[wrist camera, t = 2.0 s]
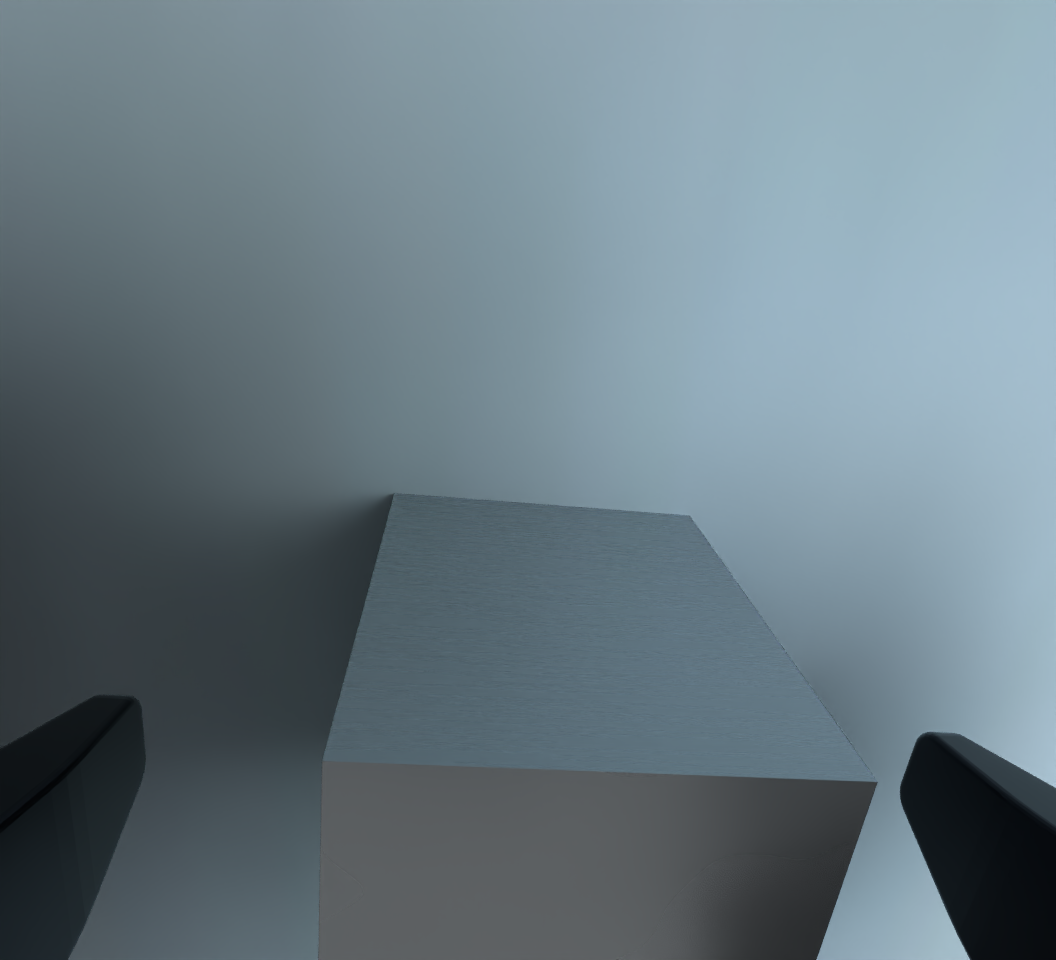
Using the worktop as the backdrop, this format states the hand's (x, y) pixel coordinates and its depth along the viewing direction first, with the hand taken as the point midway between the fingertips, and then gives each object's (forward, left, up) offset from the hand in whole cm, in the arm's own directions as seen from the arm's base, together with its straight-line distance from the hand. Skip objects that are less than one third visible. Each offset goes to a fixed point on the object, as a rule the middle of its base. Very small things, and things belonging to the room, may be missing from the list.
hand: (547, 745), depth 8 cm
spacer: (0, 0, -2) cm, 2 cm away
